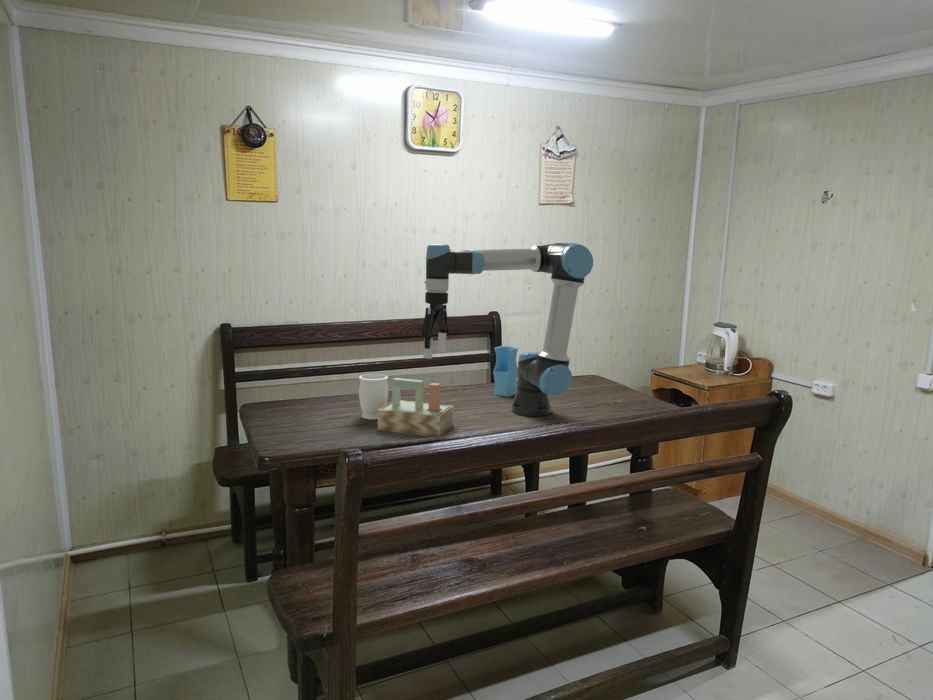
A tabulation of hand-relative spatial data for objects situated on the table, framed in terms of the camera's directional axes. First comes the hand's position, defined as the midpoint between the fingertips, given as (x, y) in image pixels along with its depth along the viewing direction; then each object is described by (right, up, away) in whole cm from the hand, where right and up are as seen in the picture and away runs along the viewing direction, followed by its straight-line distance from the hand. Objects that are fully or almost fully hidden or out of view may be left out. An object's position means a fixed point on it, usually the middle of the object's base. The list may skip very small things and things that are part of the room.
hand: (435, 354), depth 211 cm
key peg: (-1, -25, +4) cm, 25 cm away
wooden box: (-7, -25, +6) cm, 27 cm away
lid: (-7, -19, +5) cm, 21 cm away
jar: (-23, -23, +18) cm, 37 cm away
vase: (+27, -17, +58) cm, 66 cm away
